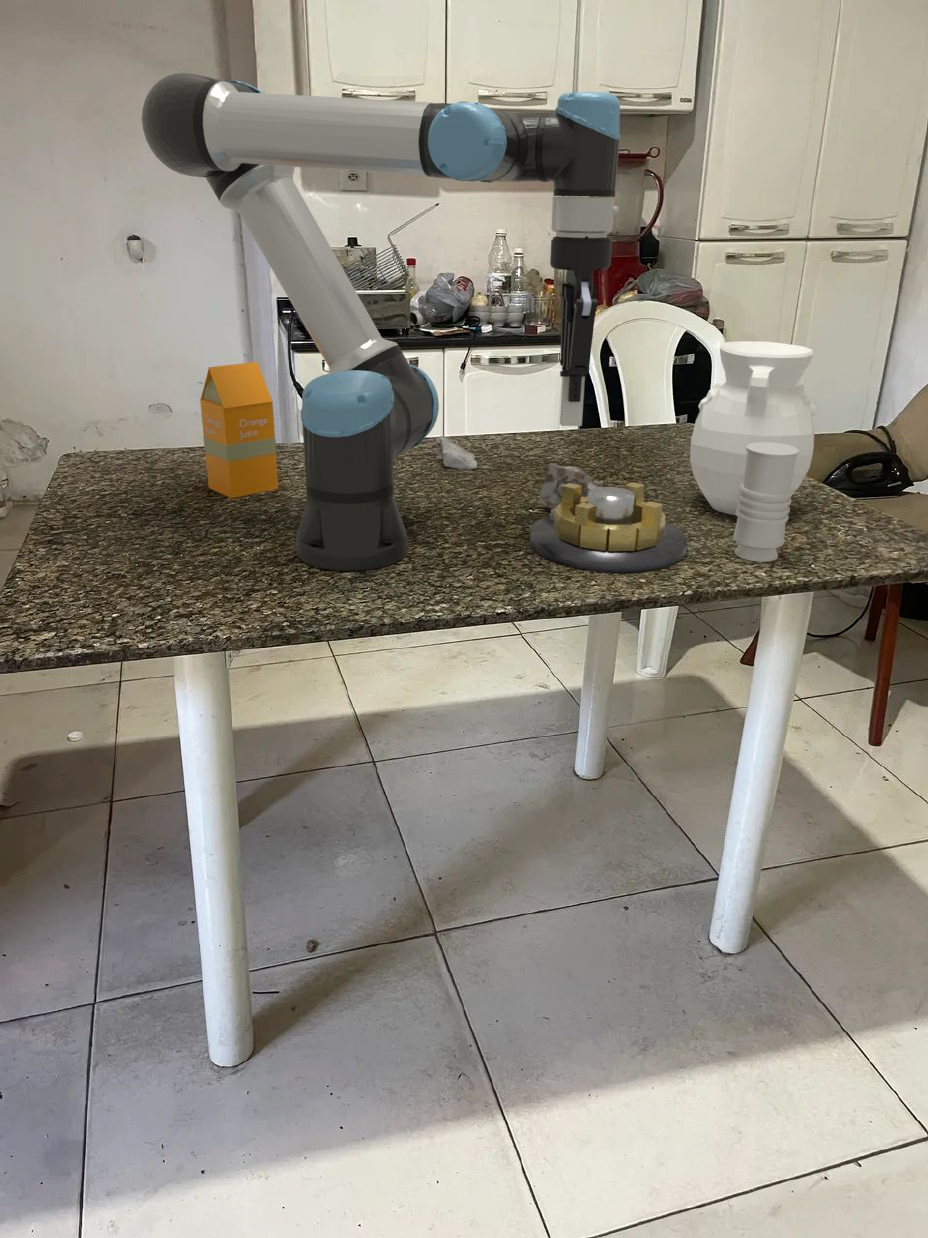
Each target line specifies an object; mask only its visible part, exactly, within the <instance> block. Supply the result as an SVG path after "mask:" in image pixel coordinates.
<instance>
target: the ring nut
mask: <svg viewBox="0 0 928 1238" xmlns="http://www.w3.org/2000/svg"><path fill="white" fill-rule="evenodd" d="M581 489H582V486H581V485H577V484H572V483H569V484H566V485H563V486H562V498H561V503H560V504H559V505H558V506H557V507H556V508H554V509H550V516H551V520H554V531H555V533H556V534H557V536H558V538H560V539H562V540H564V541H567V542H569V543H571V544H573V545H576V546H579V545H580V547H584V548H590V549H596V550H603V551H606V550H608V551H635V550H640V549H644V548H648V547H651V546H655V545H656V544H658V543H659V542H660V541H661V539H662V538H663V537H664V528H665V522H666V520H667V519H666V517H667V516H666V515H667V514H665V512H663V509H664V508H663V507H664V504H662V503H659V502H654V501H647V502H645V501H644V502H643V496H644V495H645V494H644V493H645V484H641V483H638V482H629V483H627V484H625V486H624V489H627V490H629V491H632V492H633V493H634V494H635V497H634V508H633V518H632V524H631V525H606V524H599V523H595V517H596V505H593V504H589V503H588V496H586V497H581Z"/></svg>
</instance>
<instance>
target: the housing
mask: <svg viewBox="0 0 928 1238" xmlns="http://www.w3.org/2000/svg"><path fill="white" fill-rule="evenodd" d="M634 497H635V494H634V493H633V492H632V491H629V490H627V489H625V488H622V487H617V486H609V487H598V488H593V489H591V490H589V491H588V503H589V504H593V505H596V517H595V523H599V524H606V525H631V524H632V518H633V508H634ZM644 499H645V495H643V502H645V501H644ZM529 531H530V532H529V545H530V547H531V548H532V550H533V551H534V553H536V554H538V555H539V556H540V557H543V558H544V559H547V560H548V561H550V562H553V563H556V564H559V565H562V566H565V567H570V568H573V569H578V570H583V571H589V572H590V571H591V572H598V573H608V574H610V573H611V574H632V573H634V574H636V573H645V572H651V571H658V570H661V569H665V568H668V567H672V566H673V565H675V564H677V562H678V563H679V562H680V561H682V560H683V559H684V558H685V556H686V554H687V545H688V539H687V535H685V533H684V532H683V531H682V530H680V529H679V528H677V527H676V526H675V525H672V524H670V523H669V522H666V521H665V528H664V537H663V538H662V539H661V541H660V542H659V543H658V544H656V545H655V546H651V547H648V548H644V549H640V550H635V551H608V550H606V551H603V550H596V549H590V548H584V547H580V545H579V546H576V545H573V544H571V543H569V542H567V541H564V540H562V539H560V538H558V536H557V534H556V533H555V531H554V520H551V515H548V516H545V517H543V518H541V519H538V520H537V521H536V522H534V523H533V524H532V525H531V527H530V530H529Z"/></svg>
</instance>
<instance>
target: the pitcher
mask: <svg viewBox="0 0 928 1238" xmlns="http://www.w3.org/2000/svg"><path fill="white" fill-rule="evenodd" d="M719 351H720V361H721V363H722V366H723V367H722V368H723V371H724V375H725V382H724V383H723V384H720V383H715V384H714V386H713V388H711V389H709V390H708V392H707V394H706V396H705V397H703V399H701V400H700V402H699V404H698V409H699V410H698V411H699V413H698V414H697V417H696V419H695V423H694V426H693V427H694V428H693V431H692V434H691V439H690V449H689V450H690V454H689V462H690V466H691V469H692V474H693V477H694V480H695V481H696V483H697V485H698V487H699V490H700V492H701V493H702V495H703V496H704V497H705V499H706V501H707V502H708V504H709V505H710V506H711V508H712V509H714V510H715V511H717V512H720V513H723V514H726V515H727V514H728V515H732V516H736V508H737V501H738V494H739V487H740V485H741V484H742V483H743V481H744V474H745V467H746V460H747V453H748V452H747V450H746V446H747V445H748V444H751V443H756V442H771V443H781V444H786V445H790V446H793V447H796V448H797V449H799V454H798V455H797V456H796V460H795V466H794V472H793V478H792V484H791V489H792V492H793V493H795V492H796V491H797V490H798V489H799V488H800V487H801V485H802V483H803V481H804V479H805V477H806V476H807V473H808V471H809V470H810V466H811V464H812V459H813V454H814V449H815V448H814V447H815V446H814V444H815V443H814V441H815V427H814V426H815V425H814V416H816V415H817V411H816V409H817V408H816V405H815V404H813V403H812V398H811V396H810V394H809V393H807V392H806V391H805V385H804V383H803V384H798V382H799V381H800V379H801V378H802V376H803V375H804V372H805V371H806V370H807V368H808V366H809V365H810V363H811V361H812V358H813V356H814V354H815V352H814V350H813V349H811V348H809V347H806V346H803V345H797V344H789V343H782V342H775V341H774V342H773V341H755V340H753V341H751V340H750V341H748V340H745V341H744V340H743V341H727V342H723V343H721V345H720V346H719ZM797 384H798V385H797Z"/></svg>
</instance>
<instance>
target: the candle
mask: <svg viewBox="0 0 928 1238" xmlns="http://www.w3.org/2000/svg"><path fill="white" fill-rule="evenodd" d="M746 450H747V452H748V453H747V460H746V467H745V474H744V481H743V483H742V484H741V485H740V487H739V494H738V501H737V508H736V515H735V516H736V517H737V520H736V525H735V527H734V528H735V529H734V532H733V540H734V541H735V542H736V543H738V544H737V547H736V548H735V550H734V554H735V556H737V557H738V558H740V559H743V560H747V561H752V562H758V563H759V562H762V563H763V562H774V561H776V560H778V558H779V555H778V551H777V548H780V547H782V546H783V545H784V543H785V532H786V531H785V530H786V523H787V522H788V520H789V513H790V511H791V510H790V506H791V504H792V498H791V497H792V496H793V492H792V489H791V484H792V478H793V472H794V466H795V460H796V456H797V455H798V454H799V449H797V448H796V447H793V446H790V445H786V444H781V443H771V442H756V443H751V444H748V445H747V446H746Z"/></svg>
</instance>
